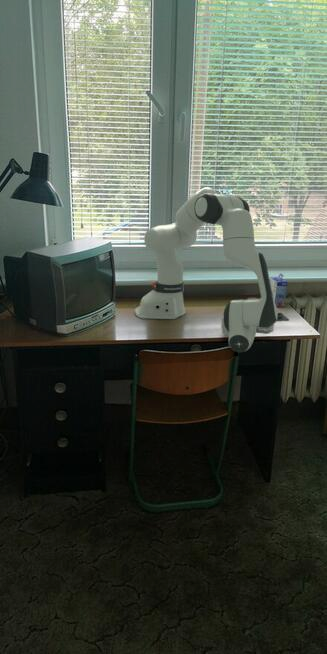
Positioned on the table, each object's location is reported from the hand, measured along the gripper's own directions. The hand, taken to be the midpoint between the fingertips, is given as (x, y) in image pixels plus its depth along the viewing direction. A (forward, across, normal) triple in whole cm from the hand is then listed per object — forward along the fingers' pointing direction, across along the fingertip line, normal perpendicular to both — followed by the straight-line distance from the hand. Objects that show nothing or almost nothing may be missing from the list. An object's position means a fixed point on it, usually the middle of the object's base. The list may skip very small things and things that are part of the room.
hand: (249, 317), depth 196 cm
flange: (+21, -9, +6) cm, 23 cm away
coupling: (+12, 0, +6) cm, 13 cm away
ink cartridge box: (+41, -8, +6) cm, 42 cm away
